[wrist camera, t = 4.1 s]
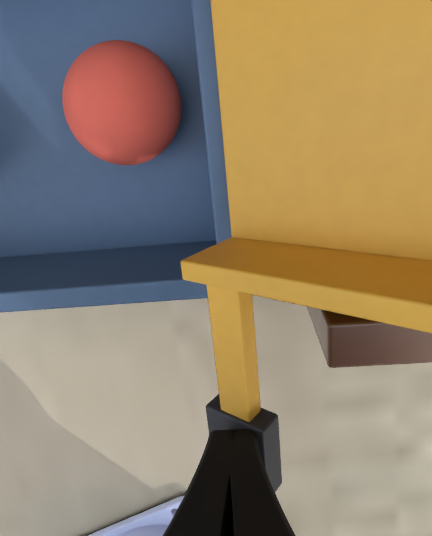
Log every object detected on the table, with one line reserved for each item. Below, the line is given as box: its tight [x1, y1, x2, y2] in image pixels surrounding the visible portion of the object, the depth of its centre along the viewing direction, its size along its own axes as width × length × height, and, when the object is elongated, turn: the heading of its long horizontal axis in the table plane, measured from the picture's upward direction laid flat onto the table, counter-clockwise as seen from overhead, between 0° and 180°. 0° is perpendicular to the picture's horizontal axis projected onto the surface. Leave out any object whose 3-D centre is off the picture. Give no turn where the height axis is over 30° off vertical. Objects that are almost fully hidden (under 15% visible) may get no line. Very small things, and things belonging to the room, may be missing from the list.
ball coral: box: [62, 40, 182, 165], centre depth 13 cm, size 4×4×4 cm
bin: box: [0, 0, 232, 312], centre depth 13 cm, size 14×11×4 cm
